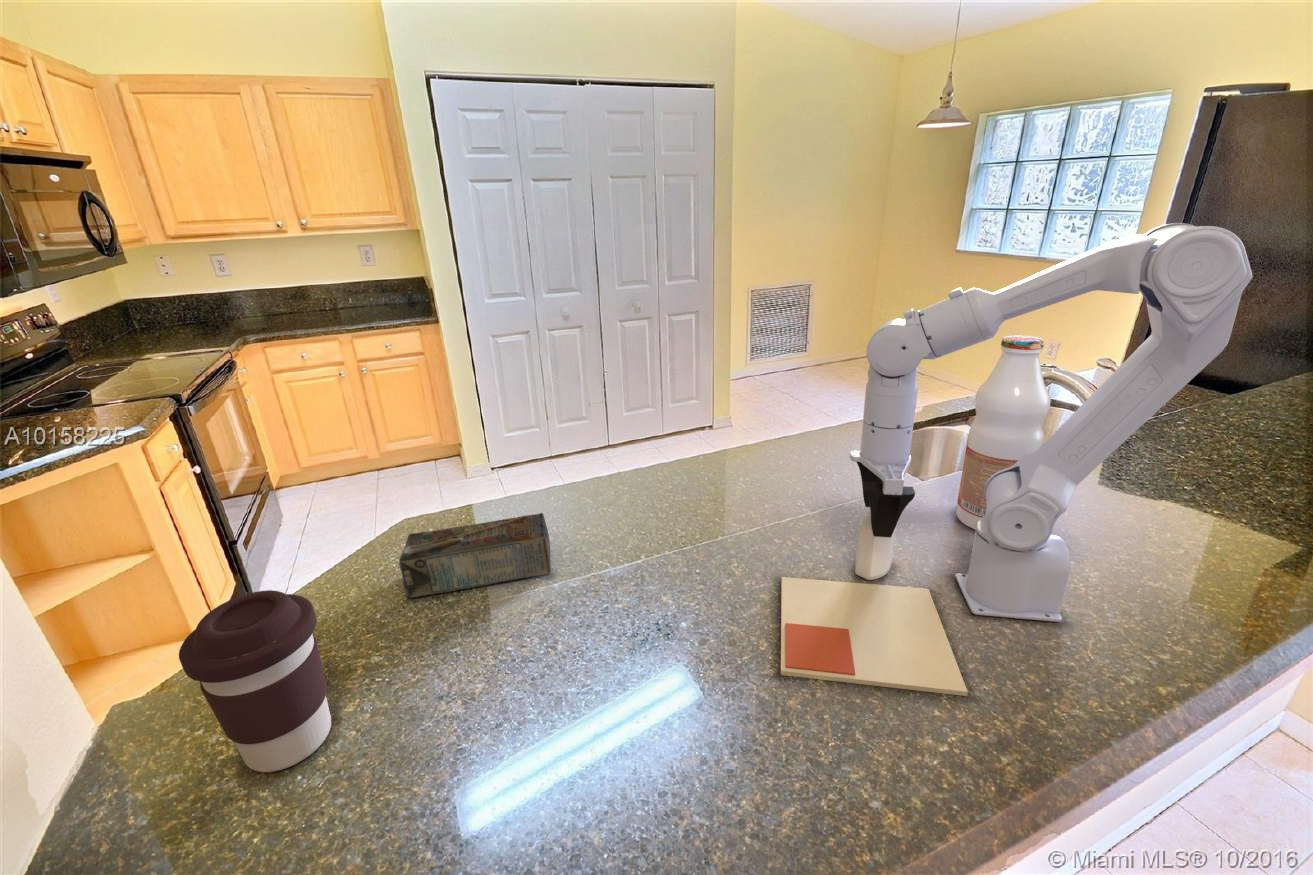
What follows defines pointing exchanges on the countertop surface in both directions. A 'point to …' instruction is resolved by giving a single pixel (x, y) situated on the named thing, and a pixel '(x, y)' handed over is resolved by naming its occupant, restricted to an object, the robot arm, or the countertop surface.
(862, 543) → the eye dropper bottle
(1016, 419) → the fruit juice
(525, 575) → the beverage carton
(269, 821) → the countertop surface
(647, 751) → the countertop surface
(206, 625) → the coffee cup
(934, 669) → the mat
